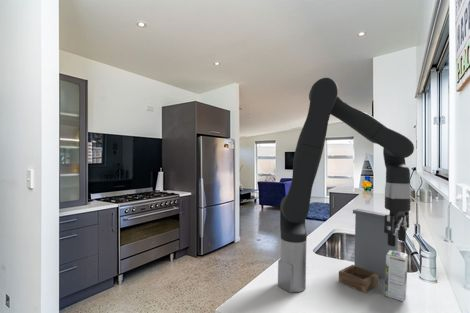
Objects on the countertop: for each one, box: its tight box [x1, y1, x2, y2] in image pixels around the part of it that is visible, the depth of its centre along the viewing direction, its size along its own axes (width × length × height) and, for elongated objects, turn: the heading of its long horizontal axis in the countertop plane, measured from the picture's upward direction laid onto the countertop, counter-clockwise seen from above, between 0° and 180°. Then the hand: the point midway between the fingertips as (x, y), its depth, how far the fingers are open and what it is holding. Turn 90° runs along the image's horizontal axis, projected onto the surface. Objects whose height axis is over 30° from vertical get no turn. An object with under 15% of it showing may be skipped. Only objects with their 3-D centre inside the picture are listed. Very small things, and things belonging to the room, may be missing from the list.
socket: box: [338, 264, 380, 294], centre depth 97 cm, size 10×10×4 cm
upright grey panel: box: [352, 208, 399, 280], centre depth 104 cm, size 4×16×25 cm, turn 37°
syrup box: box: [384, 250, 409, 302], centre depth 89 cm, size 6×6×14 cm
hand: (396, 243), depth 89 cm, fingers open, 8 cm apart
